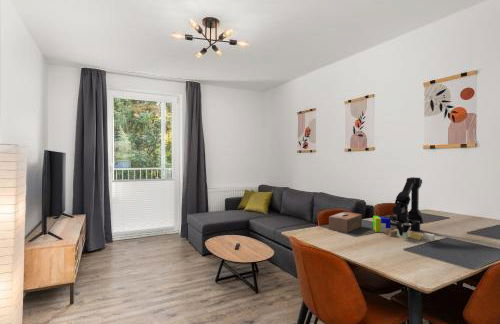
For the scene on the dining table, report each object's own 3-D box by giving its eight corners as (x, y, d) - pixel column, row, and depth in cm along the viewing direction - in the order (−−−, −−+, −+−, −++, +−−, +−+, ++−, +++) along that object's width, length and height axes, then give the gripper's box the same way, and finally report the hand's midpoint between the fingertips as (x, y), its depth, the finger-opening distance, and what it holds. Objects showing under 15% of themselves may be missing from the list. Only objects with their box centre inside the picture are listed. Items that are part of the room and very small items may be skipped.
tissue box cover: (344, 223, 236) (344, 211, 236) (361, 226, 226) (361, 214, 226) (328, 229, 217) (328, 216, 217) (346, 233, 207) (346, 219, 207)
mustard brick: (410, 237, 195) (410, 232, 195) (412, 237, 197) (412, 232, 197) (418, 240, 190) (418, 234, 190) (421, 239, 192) (421, 234, 192)
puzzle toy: (390, 232, 207) (390, 219, 207) (375, 232, 209) (376, 218, 209) (386, 229, 217) (387, 216, 217) (372, 228, 219) (372, 215, 219)
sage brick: (397, 236, 199) (397, 231, 199) (400, 235, 200) (400, 230, 200) (405, 238, 193) (405, 233, 193) (408, 237, 195) (408, 232, 195)
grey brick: (422, 238, 193) (422, 233, 193) (425, 237, 195) (425, 232, 195) (432, 240, 188) (432, 235, 188) (434, 240, 190) (434, 234, 190)
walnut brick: (385, 234, 204) (385, 229, 204) (389, 234, 204) (389, 229, 204) (390, 236, 198) (390, 231, 198) (394, 236, 199) (394, 231, 198)
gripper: (401, 209, 208) (401, 231, 208) (383, 211, 199) (383, 234, 200) (416, 212, 198) (415, 234, 198) (397, 214, 189) (397, 238, 190)
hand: (402, 235), depth 197 cm, fingers closed on sage brick, 3 cm apart
